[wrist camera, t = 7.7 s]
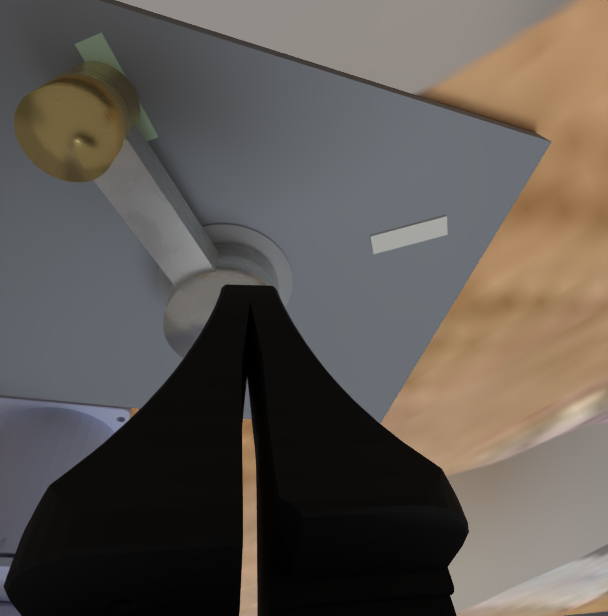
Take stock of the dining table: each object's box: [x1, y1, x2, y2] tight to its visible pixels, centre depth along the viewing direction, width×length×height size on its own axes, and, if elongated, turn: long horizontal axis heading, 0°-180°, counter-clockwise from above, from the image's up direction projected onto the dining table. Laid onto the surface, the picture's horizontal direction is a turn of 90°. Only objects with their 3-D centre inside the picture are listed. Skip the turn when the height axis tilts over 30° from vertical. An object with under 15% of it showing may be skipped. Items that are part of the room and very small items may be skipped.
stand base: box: [0, 0, 551, 423], centre depth 22 cm, size 20×24×1 cm
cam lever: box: [14, 61, 280, 358], centre depth 17 cm, size 13×5×4 cm, turn 23°
